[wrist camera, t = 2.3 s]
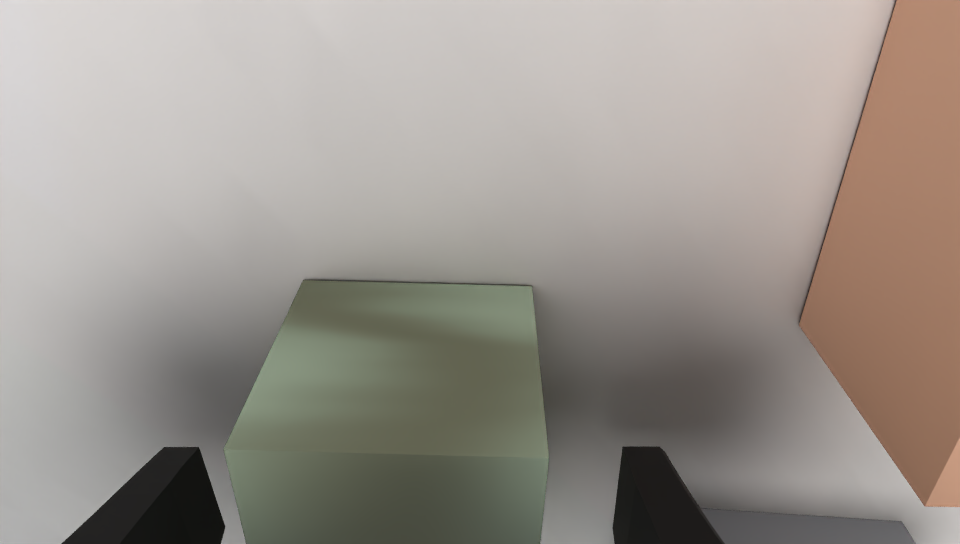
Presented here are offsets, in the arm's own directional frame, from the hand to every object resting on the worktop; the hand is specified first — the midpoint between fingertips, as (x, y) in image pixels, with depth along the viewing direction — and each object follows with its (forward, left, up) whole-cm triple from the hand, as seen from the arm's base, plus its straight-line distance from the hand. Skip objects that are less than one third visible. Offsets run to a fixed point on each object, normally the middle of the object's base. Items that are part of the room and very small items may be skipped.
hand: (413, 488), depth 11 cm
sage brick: (0, 0, -2) cm, 2 cm away
